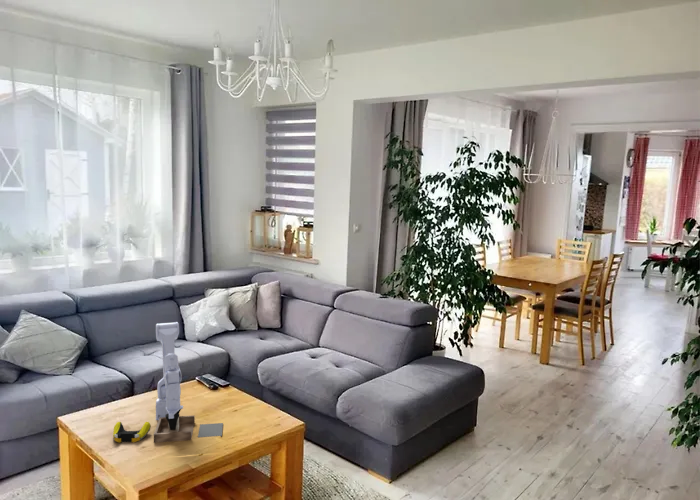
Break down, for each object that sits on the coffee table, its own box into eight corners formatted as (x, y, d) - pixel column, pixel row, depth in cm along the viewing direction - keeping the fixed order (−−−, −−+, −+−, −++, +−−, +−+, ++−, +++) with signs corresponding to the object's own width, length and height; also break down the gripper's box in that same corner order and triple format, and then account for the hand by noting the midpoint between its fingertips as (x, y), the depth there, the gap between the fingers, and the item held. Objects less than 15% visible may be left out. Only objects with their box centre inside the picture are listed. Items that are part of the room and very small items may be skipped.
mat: (197, 438, 225) (197, 437, 225) (200, 425, 237) (200, 424, 237) (221, 436, 227) (221, 435, 227) (222, 424, 239) (222, 423, 239)
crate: (153, 443, 220) (153, 434, 219) (159, 425, 235) (159, 417, 235) (191, 441, 223) (191, 432, 222) (194, 423, 238) (194, 415, 238)
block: (168, 433, 226) (168, 419, 226) (169, 428, 230) (169, 415, 229) (178, 432, 227) (177, 419, 226) (179, 428, 231) (178, 415, 230)
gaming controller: (116, 432, 228) (107, 444, 219) (116, 420, 228) (107, 431, 218) (152, 432, 229) (144, 443, 220) (151, 420, 229) (144, 431, 219)
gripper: (180, 403, 220) (181, 434, 222) (184, 390, 234) (185, 418, 236) (163, 404, 219) (163, 435, 221) (168, 390, 233) (168, 419, 235)
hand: (173, 427), depth 228 cm, fingers closed on block, 4 cm apart
